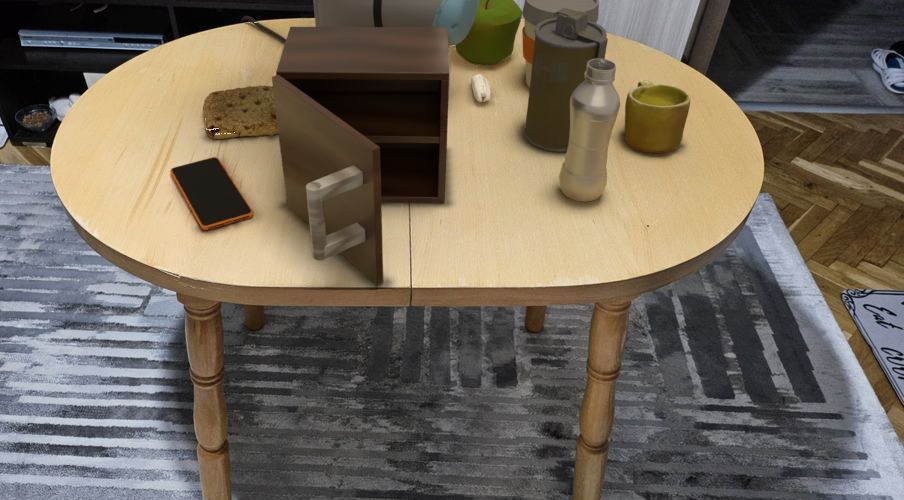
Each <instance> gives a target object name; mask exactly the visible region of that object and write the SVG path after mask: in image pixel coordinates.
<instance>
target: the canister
mask: <svg viewBox="0 0 904 500" xmlns="http://www.w3.org/2000/svg"><path fill="white" fill-rule="evenodd" d="M553 14H554V15H555V16H556V15H557V18H551V19H547V20H545V21H542V22H540V23H539V24H537V26H536V27H535V30H534V33H535V44H534V54H533V63H532V72H531V81H530V87H529V90H528V91H529V92H528V101H527V110H526V119H525V127H524V128H523V137H524V138H525V140H526V141H527V142H528V143H529V144H530V145H532V146H534V147H536V148H538V149H541V150H544V151H548V152H553V153H566V152H567V148H568V144H569V136H570V135H569V132H570V98H571V95H572V93H573V91H574V90H575V89H576V88H577V87H578V86H579V85H580V84H581V83H582V82H583V81H584V80H586V79H585V78H584V74H585V71H586V67H587V63H588V61H590V60H592V59H605V58H606V53H607V47H608V42H609V39H608V37H607V36H608V34H607V31H606V29H605V28H604V27H603V26H602V25H600V24H599V23H597V22H596V23H595V22H592V21H589V20H587V14H586V13H585V12H582V11H575V10H572V9H568V8H562V9H561V10H559V11H557V12H555V13H553Z"/></svg>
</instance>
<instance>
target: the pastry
mask: <svg viewBox="0 0 904 500" xmlns="http://www.w3.org/2000/svg"><path fill="white" fill-rule="evenodd" d="M203 111H204V112H203ZM202 112H203V116H204V119H205V118H206V124H205V125H206V126H204V127H205V131H206V133H207V136H208V137H209V138H210V139H214V140H226V139H235V138H236V137H238V138H241V137H261V136H269V137H273V136H275V135H279V133H278V125H277V117H276V108H275V100H274V91H273V85H254V86H251V85H250V86H249V85H248V86H245V87H235V88H230V89H225V90H223V89H221V90H216V91H212V92H210V93H209V94H208V95H207V96H206V97H205V98H204V101H203V106H202ZM206 128H207V129H213V128H219V129H216V130H215V129H214V130H211V131H209V130H206ZM234 132H235V133H234ZM216 133H217V134H218V133H220V135H215V134H216ZM221 133H222V134H221ZM224 133H226V134H224ZM227 133H231V134H227Z"/></svg>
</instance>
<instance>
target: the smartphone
mask: <svg viewBox="0 0 904 500" xmlns="http://www.w3.org/2000/svg"><path fill="white" fill-rule="evenodd" d="M169 172H170V174H171V176H172V178H173V180H174V181H175V183H176V185H177V187H178V189H179V190H180V192H181V194H182V195H183V197H184V200H185V201H186V203H187V204H188V206H189V208H190V211H192V214H193V215H194V217H195V219H196V221H197V222H198V224H199V226H200V228H201V229H202V230H205V231H207V230H212V229H215V228H218V227H222V226H225V225H228V224H232V223H235V222H238V221H241V220H244V219H248V218H251V217H253V216H254V213H255V212H254V211H253V209H252V207H251V206H250V204H249V203H248V201H247V200H246V198H245V196H244V195H243V194H242V192H241V191H240V189H239V188H238V186H237V185H236V183H235V181H234V178H233V177H232V176H231V175H230V173H229V171H228V170H227V168H226V167H225V165H224V164H223V163H222V161H221V159H220V158H219V157H217V156H213V157H209V158H205V159H202V160H197V161H193V162H190V163H186V164H182V165H178V166H175V167H172V168H171V169H170V170H169Z"/></svg>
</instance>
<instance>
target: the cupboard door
mask: <svg viewBox="0 0 904 500" xmlns="http://www.w3.org/2000/svg"><path fill="white" fill-rule="evenodd" d="M271 83H272V86H273V91H274V100H275V108H276V117H277V125H278V133H279V134H278V140H279V148H280V149H279V150H280V157H281V166H282V174H283V183H284V190H285V199H286V206H288V207H289V208H290V209H291V210H292V211H293V212H294V213H295V214H296V215H297V216H298V217H300V218H301V219H302V221H304V222H305V223H307V225H309V233H310V240H311V241H310V243H311V253H312V258H313V259H314V260H315V261H320V262H321V261H324V260H327V259H329V258H331V257H334V256H336V255H338V254H341V255H342V256H343V257H344V258H345V259H346V260H347V261H349V262H350V263H351V264H352V265H353V266H354V267H355V268H356V269H358V270H359V271H360V272H361V273H362V274H363V275H364V276H365V277H366V278H367V279H369V280H370V281H371V282H372V283H373V284H374V285H375V286H376V287H377V286H380V285H382V284H384V256H383V251H384V250H383V220H382V219H383V217H382V202H381V173H380V147H379V146H377V145H376V144H375V143H373V142H372V141H370V140H369V139H368V138H366V137H365V136H363V135H362V134H361V133H359V132H358V131H356V130H355V129H354V128H352V127H351V126H349V125H348V124H347V123H345V122H344V121H342V120H341V119H340V118H338V117H337V116H335V115H334V114H333V113H331V112H330V111H328V110H327V109H326V108H324V107H323V106H322V105H320V104H319V103H317V102H316V101H315V100H313V99H312V98H310V97H309V96H308V95H306V94H305V93H303V92H302V91H301V90H299V89H298V88H296V87H295V86H294V85H292V84H291V83H289V82H288V81H287V80H285V79H284V78H282V77H281V76H280V75H276V74H275V75H273V76H271Z"/></svg>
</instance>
